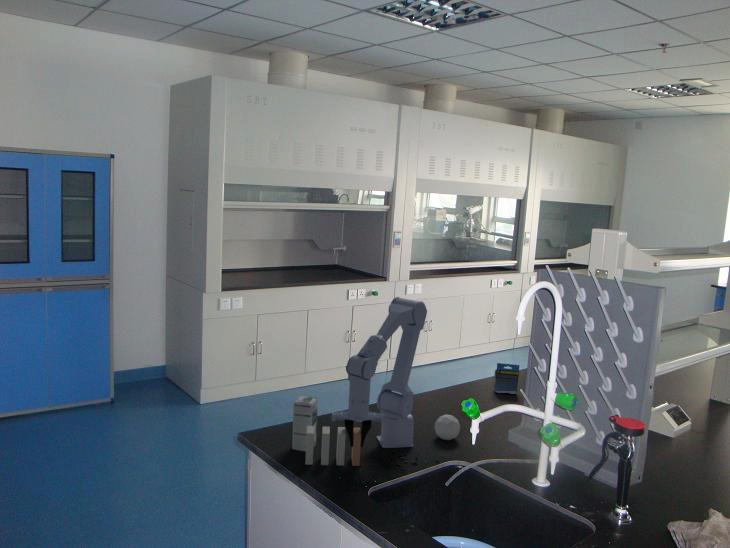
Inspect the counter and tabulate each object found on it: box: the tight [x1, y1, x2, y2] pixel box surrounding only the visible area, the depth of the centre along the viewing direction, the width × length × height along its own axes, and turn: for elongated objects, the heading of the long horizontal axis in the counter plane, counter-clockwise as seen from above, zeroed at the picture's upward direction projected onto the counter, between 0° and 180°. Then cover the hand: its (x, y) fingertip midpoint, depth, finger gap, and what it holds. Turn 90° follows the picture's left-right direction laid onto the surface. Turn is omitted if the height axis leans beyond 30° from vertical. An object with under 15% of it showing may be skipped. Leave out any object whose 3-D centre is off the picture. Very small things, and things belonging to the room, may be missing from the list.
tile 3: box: [320, 425, 331, 466], centre depth 163 cm, size 2×5×9 cm, turn 4°
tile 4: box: [304, 426, 315, 466], centre depth 163 cm, size 2×5×9 cm, turn 4°
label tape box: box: [492, 362, 520, 393], centre depth 230 cm, size 9×4×12 cm, turn 85°
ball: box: [434, 413, 461, 441], centre depth 183 cm, size 8×8×8 cm
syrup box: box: [291, 395, 319, 452], centre depth 171 cm, size 6×6×14 cm
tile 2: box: [335, 426, 346, 466], centre depth 164 cm, size 2×5×9 cm, turn 4°
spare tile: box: [351, 426, 362, 467], centre depth 164 cm, size 2×5×9 cm, turn 4°
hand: (356, 445), depth 164 cm, fingers closed on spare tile, 2 cm apart
